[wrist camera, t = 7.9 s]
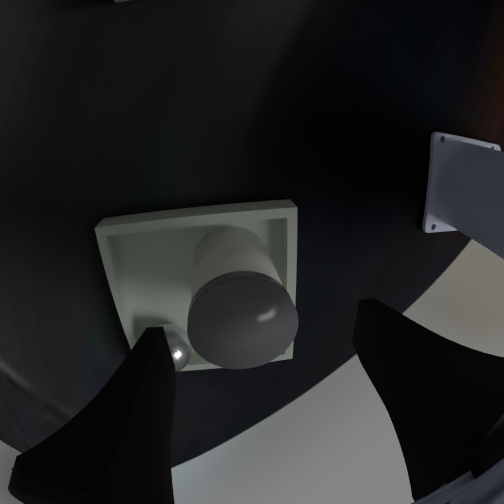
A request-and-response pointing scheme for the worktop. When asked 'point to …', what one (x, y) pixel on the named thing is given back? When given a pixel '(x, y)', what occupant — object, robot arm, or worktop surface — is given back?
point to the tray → (184, 259)
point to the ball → (178, 345)
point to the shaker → (238, 302)
